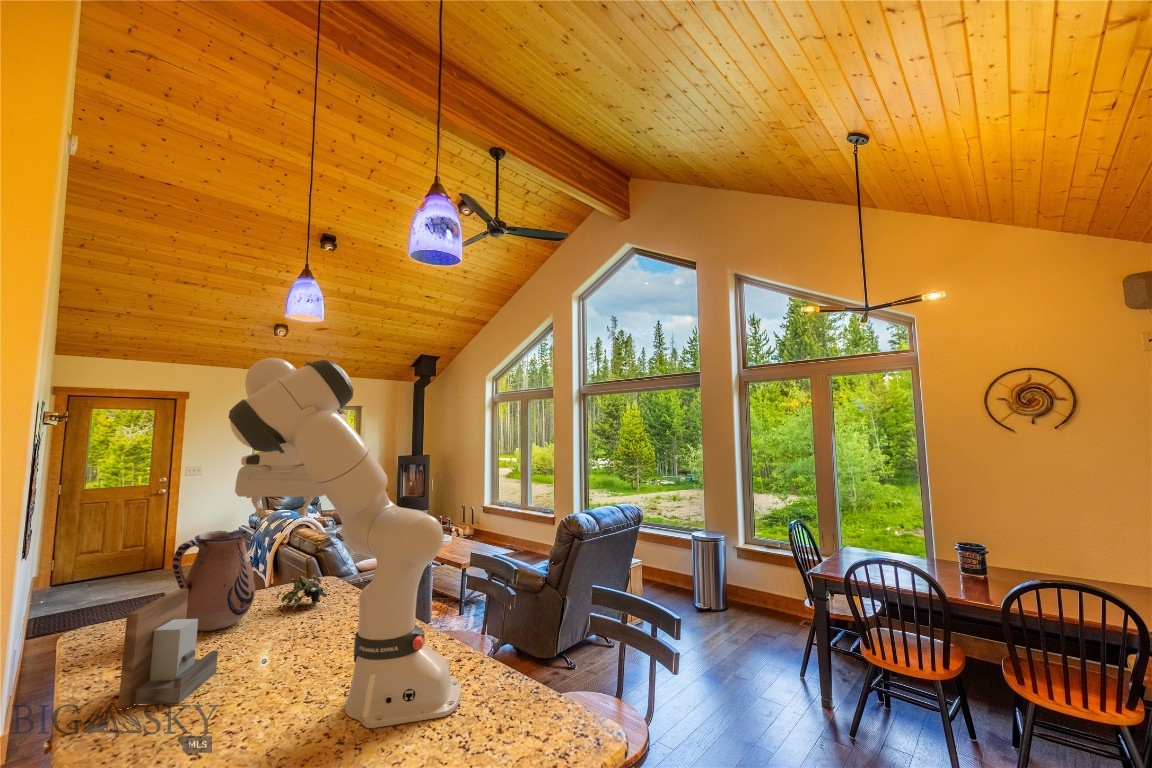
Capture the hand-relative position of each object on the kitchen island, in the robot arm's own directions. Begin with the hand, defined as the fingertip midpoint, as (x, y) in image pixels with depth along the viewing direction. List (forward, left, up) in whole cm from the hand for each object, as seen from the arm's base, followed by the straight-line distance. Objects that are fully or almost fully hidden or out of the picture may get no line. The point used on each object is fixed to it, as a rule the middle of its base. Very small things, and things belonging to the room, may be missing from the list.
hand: (281, 515), depth 121 cm
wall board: (+15, +10, -34) cm, 39 cm away
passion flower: (+8, -39, -34) cm, 53 cm away
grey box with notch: (+15, +10, -31) cm, 36 cm away
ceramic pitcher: (+26, -24, -34) cm, 49 cm away
